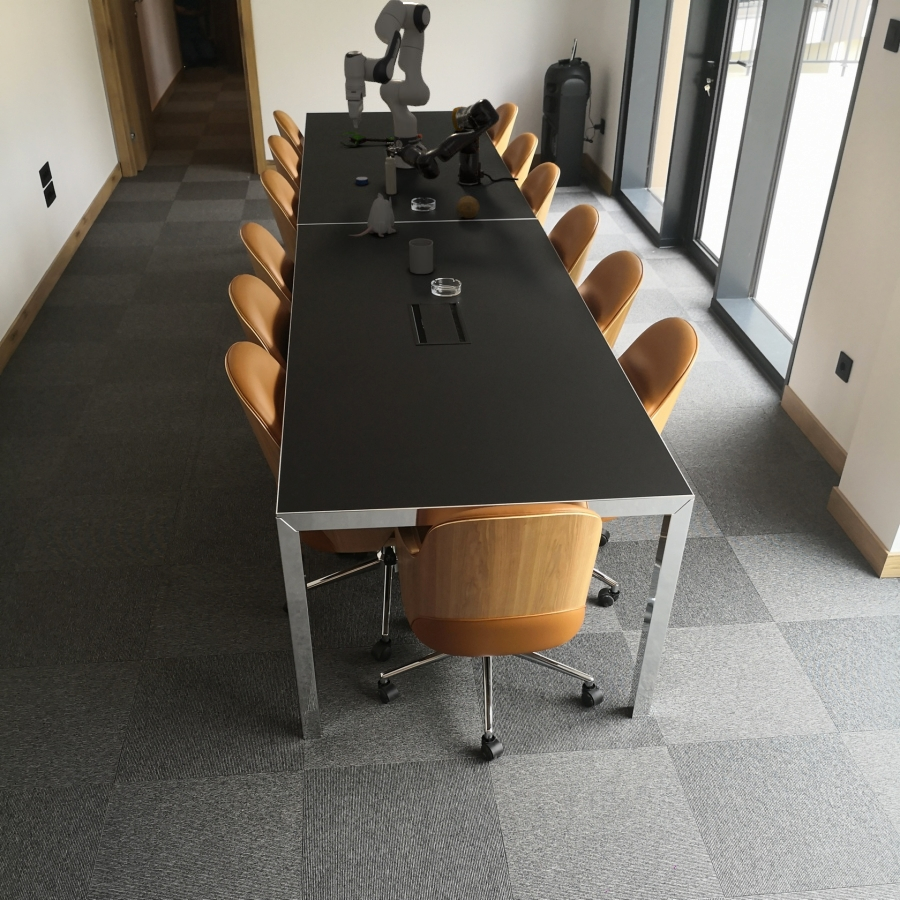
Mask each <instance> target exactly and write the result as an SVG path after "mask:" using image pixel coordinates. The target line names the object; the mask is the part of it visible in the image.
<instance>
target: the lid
mask: <svg viewBox="0 0 900 900" xmlns="http://www.w3.org/2000/svg"><path fill="white" fill-rule="evenodd" d="M355 184H357V185H358V186H365V185H368V184H369V178H368V177H367V176H358V177H356V178H355Z"/></svg>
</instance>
